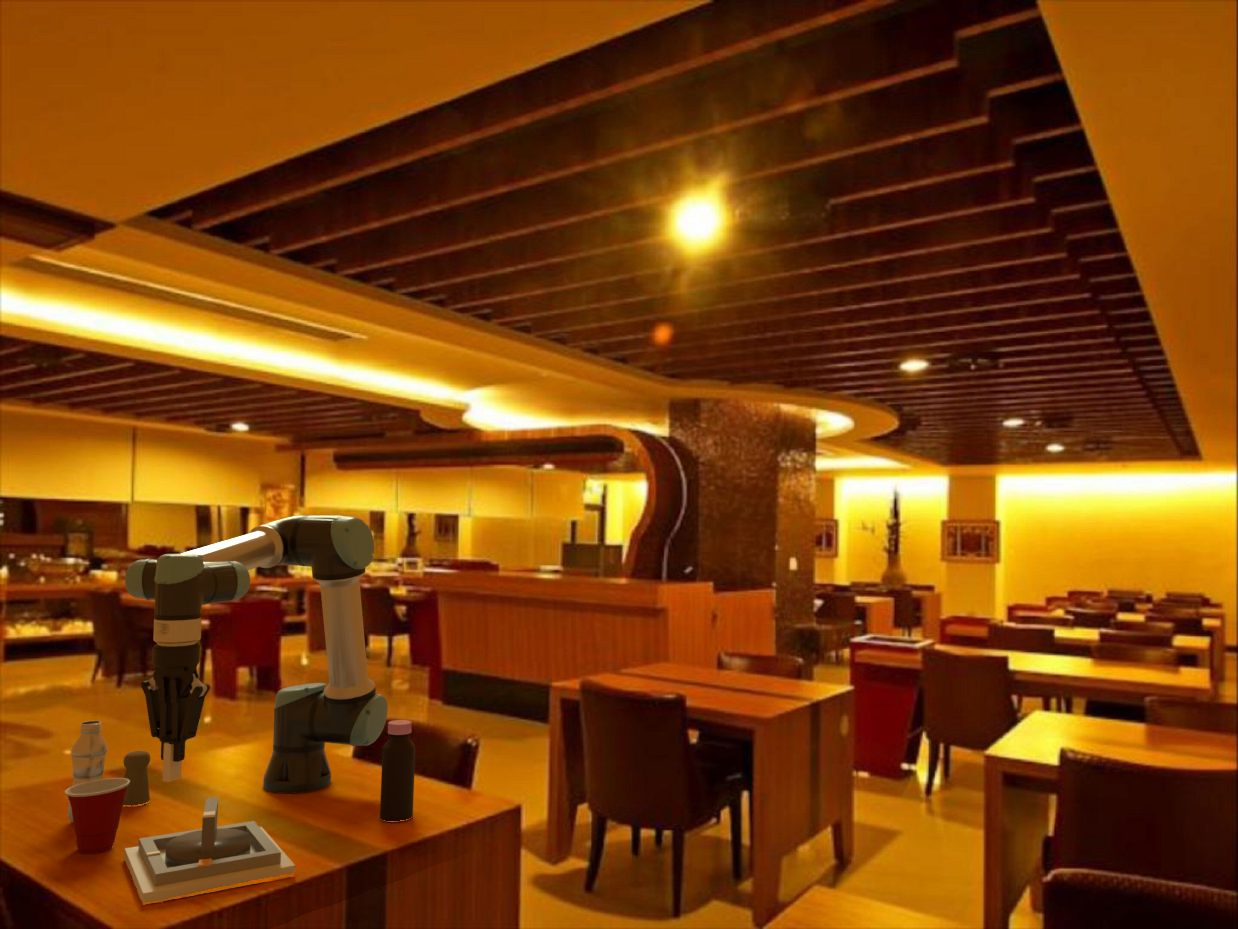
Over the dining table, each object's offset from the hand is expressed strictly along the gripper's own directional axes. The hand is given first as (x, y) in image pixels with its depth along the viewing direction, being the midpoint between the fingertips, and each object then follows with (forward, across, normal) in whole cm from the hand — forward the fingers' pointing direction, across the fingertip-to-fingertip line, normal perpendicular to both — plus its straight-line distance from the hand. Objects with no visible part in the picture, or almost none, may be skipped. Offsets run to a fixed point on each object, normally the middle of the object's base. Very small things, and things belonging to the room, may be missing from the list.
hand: (171, 779), depth 161 cm
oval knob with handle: (+15, +2, +7) cm, 17 cm away
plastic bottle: (+18, -38, +18) cm, 46 cm away
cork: (+18, -39, +32) cm, 54 cm away
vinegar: (+18, +19, +44) cm, 51 cm away
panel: (+17, +2, +7) cm, 19 cm away
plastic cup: (+18, -24, +7) cm, 31 cm away
